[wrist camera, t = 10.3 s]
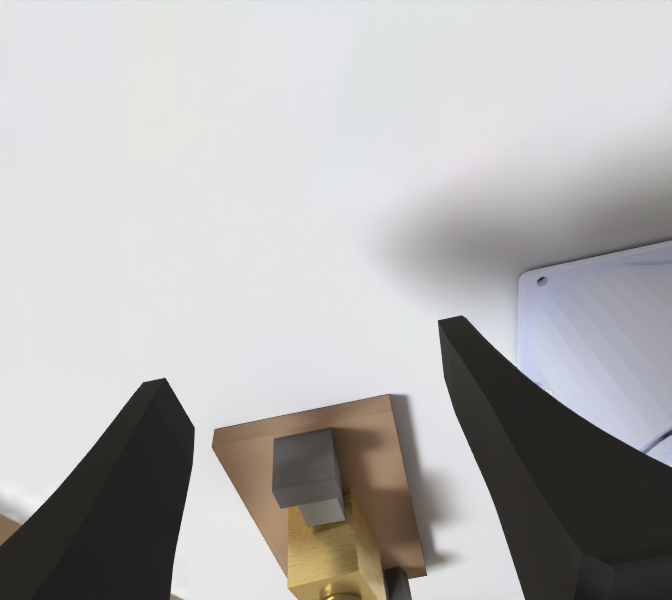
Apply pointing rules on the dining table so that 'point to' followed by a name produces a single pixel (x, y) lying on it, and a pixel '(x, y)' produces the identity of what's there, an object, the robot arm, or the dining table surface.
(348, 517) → the block
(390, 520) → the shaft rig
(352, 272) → the dining table surface
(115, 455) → the robot arm
